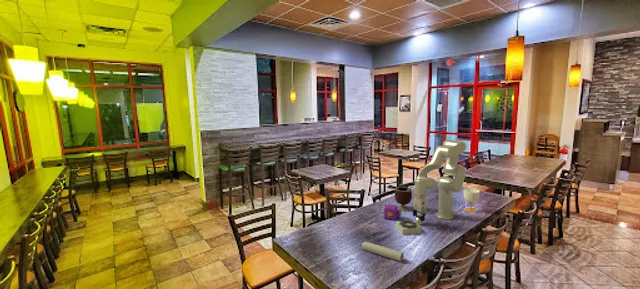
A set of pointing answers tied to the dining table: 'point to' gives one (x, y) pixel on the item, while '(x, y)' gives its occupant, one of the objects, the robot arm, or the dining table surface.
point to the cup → (471, 198)
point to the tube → (383, 251)
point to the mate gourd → (403, 197)
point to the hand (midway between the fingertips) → (418, 218)
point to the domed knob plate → (408, 227)
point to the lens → (419, 220)
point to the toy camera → (391, 212)
